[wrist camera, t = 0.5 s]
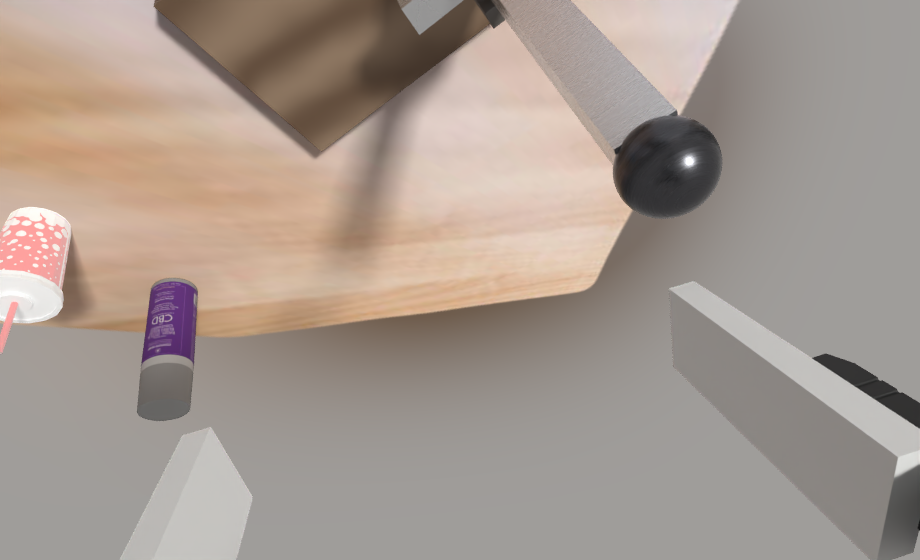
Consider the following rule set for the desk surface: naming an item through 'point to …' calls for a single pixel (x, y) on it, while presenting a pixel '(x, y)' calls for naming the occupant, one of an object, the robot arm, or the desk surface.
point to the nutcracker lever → (609, 104)
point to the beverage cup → (32, 267)
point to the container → (168, 351)
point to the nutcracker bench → (324, 52)
